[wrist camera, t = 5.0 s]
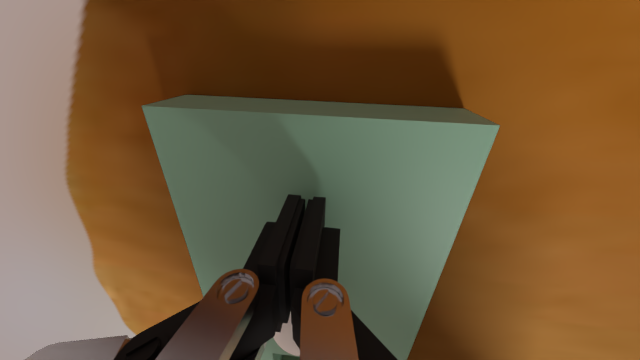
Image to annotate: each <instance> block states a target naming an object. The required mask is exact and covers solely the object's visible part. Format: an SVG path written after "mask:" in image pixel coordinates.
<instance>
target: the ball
mask: <svg viewBox="0 0 640 360" xmlns="http://www.w3.org/2000/svg"><path fill="white" fill-rule="evenodd" d="M273 338H274V340H275V341H276V343H277V344H278V345H279V346H280V347H281V348H282V349H283V350H284V351H286V352H287V353H289V354H292V355H295V356H300V349H299V348H298V346H297V345H296V343H295V341H294V340H293V332H292V324H291V312H290V316H289V320H288V323H283V324H282V328H281V332H275V336H274V337H273Z"/></svg>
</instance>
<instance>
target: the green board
mask: <svg viewBox="0 0 640 360" xmlns="http://www.w3.org/2000/svg"><path fill="white" fill-rule="evenodd" d="M142 109H143V112H144V115H145V118H146V121H147V124H148V127H149V130H150V133H151V137H152V140H153V143H154V146H155V149H156V152H157V155H158V158H159V161H160V164H161V167H162V170H163V174H164V177H165V180H166V183H167V186H168V189H169V192H170V195H171V198H172V201H173V204H174V207H175V211H176V214H177V217H178V220H179V223H180V226H181V229H182V232H183V235H184V238H185V241H186V244H187V248H188V251H189V254H190V257H191V260H192V263H193V266H194V269H195V272H196V275H197V278H198V281H199V284H200V288H201V291H202V294H203V297H204V296H205V294H206V293H207V292H208V291H209V289H210V288H211V287H212V285H213V284H214V283H215V282H216V281H217V280H218V279H219V278H220V277H221V276H222V275H224V274H225V273H227V272H229V271H232V270H235V269H243V267H244V265H245V263H246V261H247V259H248V257H249V255H250V253H251V251H252V249H253V247H254V245H255V243H256V241H257V239H258V237H259V235H260V233H261V231H262V229H263V227H264V225H265V224H266V222H276V221H277V218H278V216H279V214H280V212H281V209H282V207H283V205H284V202H285V200H286V198H287V196H288V194H292V195H301V199H305V210H306V206H307V203H308V199H312V200H313V197H314V196H315V197H326V207H325V226H324V227H328V228H338V229H340V246H339V265H338V283H340V284H341V285H342V286H343V287H344V288H345V290H346V291H347V294H348V297H349V301H350V308H351V310H352V311H353V312H354V313H355V314H356V316H357V317H358V318H359V319H360V320H361V321H362V322H363V323H364V324H365V325H366V326H367V327H368V328H369V329H370V331H371V332H372V333H373V334H374V335H375V336H376V337H377V338H378V339H379V340H380V341H381V342H382V343H383V344H384V346H385V347H386V348H387V349H388V350H389V351H390V352H391V353H392V354H393V355H394V356H395V357H396V358H397V359H398V360H407V358H408V355H409V353H410V350H411V348H412V345H413V343H414V340H415V338H416V335H417V333H418V330H419V328H420V325H421V323H422V320H423V318H424V315H425V313H426V310H427V308H428V305H429V303H430V300H431V298H432V295H433V293H434V290H435V288H436V285H437V283H438V280H439V278H440V275H441V272H442V270H443V267H444V265H445V262H446V260H447V257H448V255H449V252H450V250H451V247H452V245H453V242H454V240H455V237H456V235H457V232H458V230H459V227H460V225H461V222H462V220H463V217H464V215H465V212H466V210H467V207H468V205H469V202H470V200H471V197H472V195H473V192H474V190H475V187H476V184H477V182H478V179H479V177H480V174H481V172H482V169H483V167H484V164H485V162H486V159H487V157H488V154H489V152H490V149H491V147H492V144H493V142H494V139H495V137H496V134H497V132H498V129H499V127H500V125H498V124H496V123H494V122H492V121H489V120H487V119H485V118H483V117H481V116H479V115H477V114H475V113H473V112H471V111H469V110H467V109H465V108H445V107H425V106H405V105H385V104H365V103H345V102H324V101H304V100H284V99H264V98H244V97H224V96H204V95H182V96H178V97H174V98H170V99H167V100H163V101H159V102H155V103H151V104H147V105H143V106H142ZM260 360H300V356H295V355H292V354H289V353H287V352H286V351H284V350H283V349H282V348H281V347H280V346H279V345H278V344H277V343H276V341H275V340H274V338H271V339H270V340H269V341H267V342H266V346H265V350H264V352H263V354H262V357H261V359H260Z"/></svg>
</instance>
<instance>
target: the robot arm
mask: <svg viewBox="0 0 640 360" xmlns="http://www.w3.org/2000/svg"><path fill="white" fill-rule="evenodd" d="M325 207H326V197H315V196H314V197H313V200H312V199H308V203H307V206H306V210H305V199H301V195H292V194H288V196H287V198H286V200H285V202H284V205H283V207H282V209H281V212H280V214H279V216H278V218H277V221H276V222H266V224H265V225H264V227H263V229H262V231H261V233H260V235H259V237H258V239H257V241H256V243H255V245H254V247H253V249H252V251H251V253H250V255H249V257H248V259H247V261H246V263H245V265H244V267H243V269H235V270H232V271H229V272H227V273H225V274H224V275H222V276H221V277H220V278H219V279H218V280H217V281H216V282H215V283H214V284H213V285H212V287H211V288H210V289H209V291H208V292H207V293H206V294H205V296H204V297H203V298H202V300H201V301H200V302H198V303H196V304H194V305H192V306H190V307H188V308H186V309H184V310H182V311H181V312H179V313H177V314H175V315H173V316H171V317H169V318H167V319H165V320H163V321H162V322H160V323H158V324H156V325H154V326H152V327H150V328H148V329H146V330H145V331H143V332H141V333H139V334H138V335H136V336H135V337H133V338H128V336H127V335H125V336H115V337H107V338H98V339H89V340H79V341H70V342H61V343H56V344H52V345H48V346H46V347H44V348H42V349H41V350H38V351H36V352H35V353H34V354H32V355H31V356H30V357H28V358H27V359H25V360H260V359H261V357H262V354H263V352H264V350H265V346H266V342H267V341H269V340H270V339H271V338H273V337H274V336H275V332H281V328H282V324H283V323H288V320H289V316H290V312H291V324H292V332H293V340H294V341H295V343H296V345H297V346H298V348H299V349H300V360H398V359H397V358H396V357H395V356H394V355H393V354H392V353H391V352H390V351H389V350H388V349H387V348H386V347H385V346H384V344H383V343H382V342H381V341H380V340H379V339H378V338H377V337H376V336H375V335H374V334H373V333H372V332H371V331H370V329H369V328H368V327H367V326H366V325H365V324H364V323H363V322H362V321H361V320H360V319H359V318H358V317H357V316H356V314H355V313H354V312H353V311H352V310H351V308H350V301H349V297H348V294H347V291H346V290H345V288H344V287H343V286H342V285H341V284H340V283H338V265H339V246H340V229H338V228H328V227H324V226H325Z"/></svg>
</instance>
